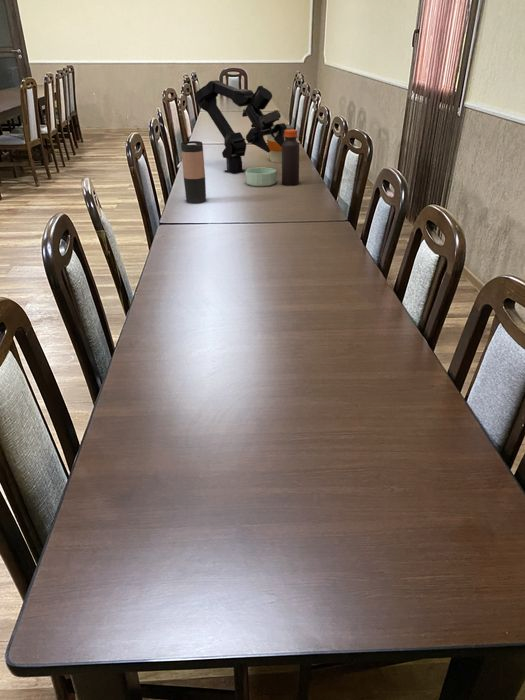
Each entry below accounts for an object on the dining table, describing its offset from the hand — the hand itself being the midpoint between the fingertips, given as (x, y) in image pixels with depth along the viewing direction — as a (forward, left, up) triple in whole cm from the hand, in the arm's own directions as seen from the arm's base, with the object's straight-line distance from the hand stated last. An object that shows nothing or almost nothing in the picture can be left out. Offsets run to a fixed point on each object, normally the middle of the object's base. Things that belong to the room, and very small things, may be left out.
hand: (277, 150), depth 214 cm
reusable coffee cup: (-25, +32, -12) cm, 42 cm away
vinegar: (+7, -1, -12) cm, 14 cm away
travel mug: (-4, -41, -12) cm, 43 cm away
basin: (-3, -7, -12) cm, 14 cm away
